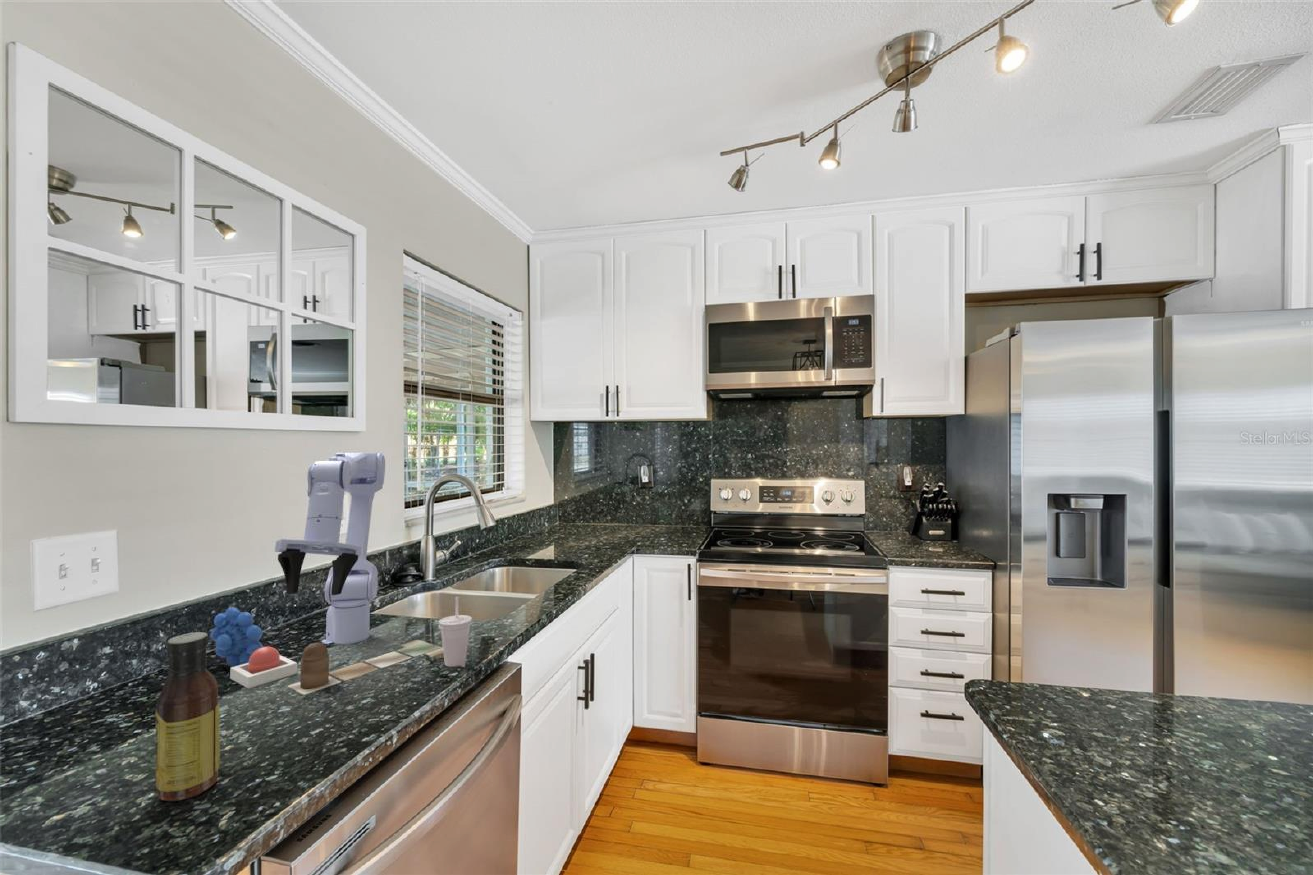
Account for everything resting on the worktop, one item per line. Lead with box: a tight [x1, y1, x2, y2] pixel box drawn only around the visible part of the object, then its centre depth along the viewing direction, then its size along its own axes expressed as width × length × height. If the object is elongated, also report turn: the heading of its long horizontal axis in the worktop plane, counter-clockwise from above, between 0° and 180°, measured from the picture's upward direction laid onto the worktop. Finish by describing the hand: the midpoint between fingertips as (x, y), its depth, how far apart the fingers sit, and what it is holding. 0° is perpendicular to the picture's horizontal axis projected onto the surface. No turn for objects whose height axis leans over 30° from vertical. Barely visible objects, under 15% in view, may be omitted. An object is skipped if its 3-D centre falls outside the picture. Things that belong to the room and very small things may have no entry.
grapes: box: [210, 606, 264, 668], centre depth 109 cm, size 12×7×12 cm, turn 79°
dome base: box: [229, 654, 298, 690], centre depth 104 cm, size 8×8×3 cm
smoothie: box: [438, 596, 473, 668], centre depth 110 cm, size 6×6×14 cm
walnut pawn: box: [299, 642, 330, 689], centre depth 100 cm, size 4×4×7 cm
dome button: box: [248, 646, 280, 674], centre depth 104 cm, size 5×5×5 cm
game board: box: [286, 639, 444, 696], centre depth 109 cm, size 12×28×1 cm, turn 147°
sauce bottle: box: [155, 631, 220, 802], centre depth 71 cm, size 7×6×20 cm
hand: (314, 594), depth 99 cm, fingers open, 7 cm apart
